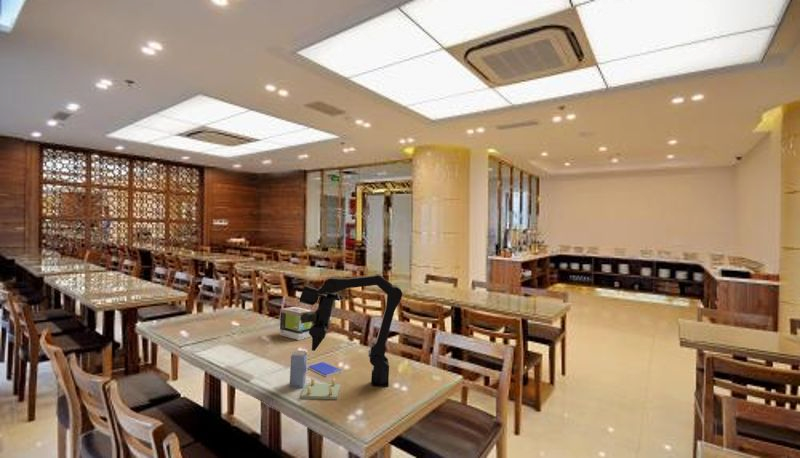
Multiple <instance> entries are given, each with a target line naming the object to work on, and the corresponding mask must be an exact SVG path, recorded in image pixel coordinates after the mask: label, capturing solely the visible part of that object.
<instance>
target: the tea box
mask: <svg viewBox="0 0 800 458" xmlns="http://www.w3.org/2000/svg"><path fill="white" fill-rule="evenodd" d="M305 312H313V309H309V308H304V307H298V306H291V307H290V306H289V307H285V308H280V318H279V319H280V320H279V321H280V322H279V324H280V325H279V336H282V337H286V338H290V339H293V340H297V341H300V340H304V338H305V339H307V338H312V337H311V335H309V330H310V327H311V326H312V325H313V323H312V322H305V323H301V320H300V315H301V313H305Z"/></svg>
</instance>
